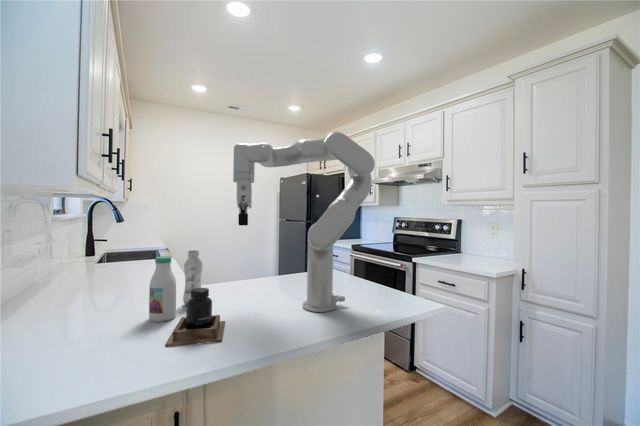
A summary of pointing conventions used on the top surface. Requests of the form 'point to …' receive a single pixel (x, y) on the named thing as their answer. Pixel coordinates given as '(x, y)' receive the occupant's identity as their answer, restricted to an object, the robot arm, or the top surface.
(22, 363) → the top surface
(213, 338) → the walnut stand
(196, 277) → the plastic bottle
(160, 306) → the milk bottle
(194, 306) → the supplement bottle
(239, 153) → the robot arm
